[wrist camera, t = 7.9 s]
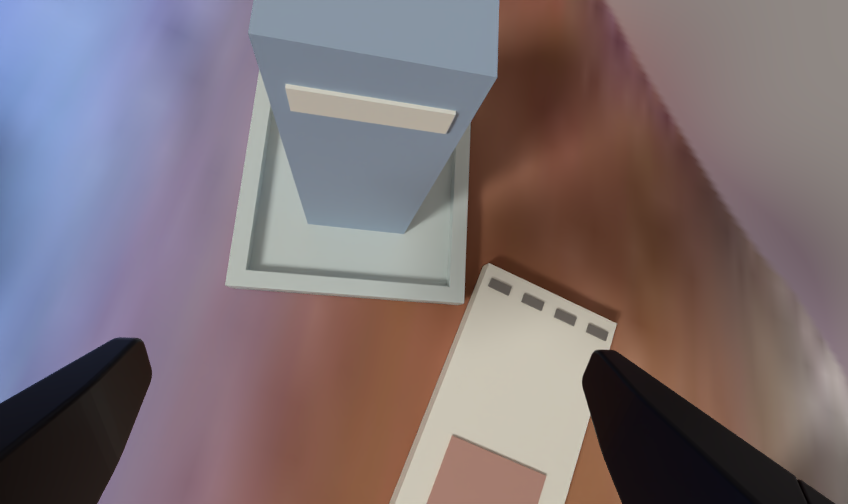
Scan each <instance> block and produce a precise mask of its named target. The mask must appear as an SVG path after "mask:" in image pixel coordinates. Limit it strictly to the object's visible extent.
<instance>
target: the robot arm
mask: <svg viewBox="0 0 848 504" xmlns="http://www.w3.org/2000/svg"><path fill="white" fill-rule="evenodd" d="M151 378H152V369H151V365H150V362H149V358H148V355H147V351H146V348H145V345H144V342H143V341H142V340H141V339H139V338H122V337H120V338H115V339H112V340H110V341H109V342H107V343H105V344H103V345H102V346H100V347H98V348H96V349H95V350H93V351H91V352H89V353H88V354H86V355H84V356H82V357H81V358H79V359H77V360H75V361H74V362H72V363H70V364H68V365H67V366H65V367H63V368H61V369H60V370H58V371H56V372H54V373H53V374H51V375H49V376H47V377H46V378H44V379H42V380H40V381H39V382H37V383H35V384H33V385H32V386H30V387H28V388H26V389H25V390H23V391H21V392H19V393H18V394H16V395H14V396H12V397H11V398H9V399H7V400H5V401H4V402H2V403H0V504H97V503H98V501H99V499H100V497H101V495H102V493H103V491H104V489H105V488H106V486H107V484H108V482H109V480H110V478H111V476H112V474H113V472H114V470H115V468H116V466H117V464H118V462H119V460H120V457H121V455H122V453H123V450H124V448H125V445H126V443H127V440H128V438H129V435H130V433H131V430H132V428H133V425H134V423H135V420H136V418H137V415H138V412H139V410H140V407H141V405H142V402H143V400H144V397H145V395H146V392H147V390H148V387H149V385H150V382H151ZM582 387H583V391H584V395H585V398H586V401H587V405H588V408H589V411H590V415H591V418H592V422H593V425H594V428H595V432H596V435H597V438H598V442H599V445H600V448H601V451H602V454H603V457H604V460H605V462H606V465H607V468H608V470H609V472H610V475H611V477H612V480H613V482H614V485H615V487H616V490H617V492H618V495H619V497H620V499H621V502H622V504H835V503H833V502H832V501H830V500H829V499H827V498H826V497H825V496H823V495H822V494H820V493H819V492H817V491H816V490H815V489H813V488H812V487H810V486H809V485H807V484H806V483H805V482H803V481H802V480H799V479H798V480H797V479H796V477H795V476H794V475H793V474H792V473H790V472H789V471H787V470H786V469H784V468H783V467H781V466H780V465H779V464H777V463H776V462H774V461H773V460H771V459H770V458H769V457H767V456H766V455H764V454H763V453H761V452H760V451H759V450H757V449H756V448H754V447H753V446H751V445H750V444H749V443H747V442H746V441H744V440H743V439H741V438H740V437H738V436H737V435H736V434H734V433H733V432H731V431H730V430H728V429H727V428H726V427H724V426H723V425H721V424H720V423H718V422H717V421H716V420H714V419H713V418H711V417H710V416H708V415H707V414H705V413H704V412H703V411H701V410H700V409H698V408H697V407H695V406H694V405H693V404H691V403H690V402H688V401H687V400H685V399H684V398H683V397H681V396H680V395H678V394H677V393H675V392H674V391H672V390H671V389H670V388H668V387H667V386H665V385H664V384H662V383H661V382H660V381H658V380H657V379H655V378H654V377H652V376H651V375H650V374H648V373H647V372H645V371H644V370H642V369H641V368H639V367H638V366H637V365H635V364H634V363H632V362H631V361H629V360H628V359H627V358H625V357H624V356H622V355H621V354H619V353H618V352H616V351H614V350H595V351H594V352H593V353H592V355H591V357H590V360H589V362H588V364H587V367H586V369H585V372H584V374H583V377H582Z"/></svg>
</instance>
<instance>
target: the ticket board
mask: <svg viewBox="0 0 848 504" xmlns="http://www.w3.org/2000/svg"><path fill="white" fill-rule="evenodd" d="M616 325H617V323H615V322H612V321H610V320H608V319H606V318H604V317H602V316H600V315H598V314H596V313H593V312H591V311H589V310H587V309H585V308H583V307H581V306H579V305H577V304H574V303H572V302H570V301H568V300H566V299H564V298H562V297H560V296H558V295H555V294H553V293H551V292H549V291H547V290H545V289H543V288H541V287H539V286H536V285H534V284H532V283H530V282H528V281H526V280H524V279H522V278H520V277H517V276H515V275H513V274H511V273H509V272H507V271H505V270H503V269H501V268H498V267H496V266H494V265H492V264H490V263H488V264H486V265H484V266H483V268H482V270H481V273H480V275H479V278H478V280H477V283H476V285H475V288H474V290H473V293H472V295H471V298H470V300H469V303H468V306H467V308H466V311H465V313H464V316H463V318H462V321H461V323H460V326H459V328H458V331H457V333H456V336H455V338H454V341H453V344H452V346H451V349H450V351H449V354H448V356H447V359H446V361H445V364H444V366H443V369H442V371H441V374H440V376H439V379H438V382H437V384H436V387H435V389H434V392H433V394H432V397H431V399H430V402H429V404H428V407H427V409H426V412H425V414H424V417H423V420H422V422H421V425H420V427H419V430H418V432H417V435H416V437H415V440H414V442H413V445H412V447H411V450H410V452H409V455H408V457H407V460H406V463H405V465H404V468H403V470H402V473H401V475H400V478H399V480H398V483H397V485H396V488H395V490H394V493H393V495H392V498H391V501H390V503H389V504H565V500H566V497H567V493H568V490H569V486H570V483H571V480H572V476H573V473H574V469H575V466H576V462H577V459H578V456H579V452H580V449H581V445H582V442H583V438H584V435H585V432H586V428H587V425H588V421H589V418H590V411H589V408H588V405H587V401H586V398H585V395H584V391H583V387H582V377H583V374H584V372H585V369H586V367H587V364H588V362H589V360H590V357H591V355H592V353H593V352H594V351H595V350H609V349H610V346H611V342H612V339H613V335H614V332H615V329H616Z"/></svg>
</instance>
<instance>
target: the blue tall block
mask: <svg viewBox="0 0 848 504" xmlns="http://www.w3.org/2000/svg"><path fill="white" fill-rule="evenodd" d="M498 25H499V0H254V2H253V8H252V13H251V19H250V25H249V31H248V35H249V38H250V41H251V44H252V47H253V50H254V54H255V57H256V60H257V63H258V66H259V70H260V73H261V76H262V79H263V82H264V86H265V89H266V92H267V95H268V98H269V102H270V105H271V108H272V111H273V114H274V117H275V121H276V124H277V127H278V130H279V133H280V137H281V140H282V143H283V146H284V149H285V153H286V156H287V159H288V162H289V165H290V168H291V172H292V175H293V178H294V181H295V184H296V188H297V191H298V194H299V197H300V200H301V204H302V207H303V210H304V213H305V216H306V220H307V223H308V224H313V225H322V226H332V227H341V228H351V229H360V230H370V231H380V232H389V233H399V234H404V233H405V231H406V229H407V228H408V226H409V224H410V223H411V221H412V219H413V218H414V216H415V214H416V213H417V211H418V209H419V208H420V206H421V204H422V203H423V201H424V199H425V198H426V196H427V194H428V193H429V191H430V189H431V188H432V186H433V184H434V183H435V181H436V179H437V178H438V176H439V174H440V172H441V171H442V169H443V167H444V166H445V164H446V162H447V161H448V159H449V157H450V156H451V154H452V152H453V151H454V149H455V147H456V146H457V144H458V142H459V141H460V139H461V137H462V136H463V134H464V132H465V131H466V129H467V127H468V126H469V124H470V122H471V121H472V119H473V117H474V116H475V114H476V112H477V110H478V109H479V107H480V105H481V104H482V102H483V100H484V99H485V97H486V95H487V94H488V92H489V90H490V89H491V87H492V85H493V84H494V82H495V80H496V79H497V66H498Z"/></svg>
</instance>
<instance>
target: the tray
mask: <svg viewBox="0 0 848 504" xmlns="http://www.w3.org/2000/svg"><path fill="white" fill-rule="evenodd" d="M470 131H471V122H470V124H469V126H468V127H467V129H466V131H465V132H464V134H463V136H462V137H461V139H460V141H459V142H458V144H457V146H456V147H455V149H454V151H453V152H452V154H451V156H450V157H449V159H448V161H447V162H446V164H445V166H444V167H443V169H442V171H441V172H440V174H439V176H438V178H437V179H436V181H435V183H434V184H433V186H432V188H431V189H430V191H429V193H428V194H427V196H426V198H425V199H424V201H423V203H422V204H421V206H420V208H419V209H418V211H417V213H416V214H415V216H414V218H413V219H412V221H411V223H410V224H409V226H408V228H407V229H406V231H405V233H404V234H399V233H389V232H380V231H370V230H360V229H351V228H341V227H332V226H322V225H313V224H308V223H307V220H306V216H305V213H304V210H303V207H302V204H301V200H300V197H299V194H298V191H297V188H296V184H295V181H294V178H293V175H292V172H291V168H290V165H289V162H288V159H287V156H286V153H285V149H284V146H283V143H282V140H281V137H280V133H279V130H278V127H277V124H276V121H275V117H274V114H273V111H272V108H271V105H270V102H269V98H268V95H267V92H266V89H265V86H264V82H263V79H262V76H261V73H260V70H259V75H258V81H257V88H256V94H255V100H254V107H253V113H252V119H251V126H250V132H249V138H248V144H247V151H246V157H245V163H244V170H243V176H242V182H241V189H240V195H239V201H238V207H237V214H236V220H235V226H234V233H233V239H232V245H231V252H230V258H229V264H228V270H227V277H226V283H225V285H226V286H228V287H230V288H237V289H250V290H263V291H277V292H290V293H303V294H317V295H330V296H343V297H357V298H370V299H383V300H397V301H410V302H423V303H437V304H450V305H460V304H464V292H465V265H466V238H467V211H468V184H469V157H470Z"/></svg>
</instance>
